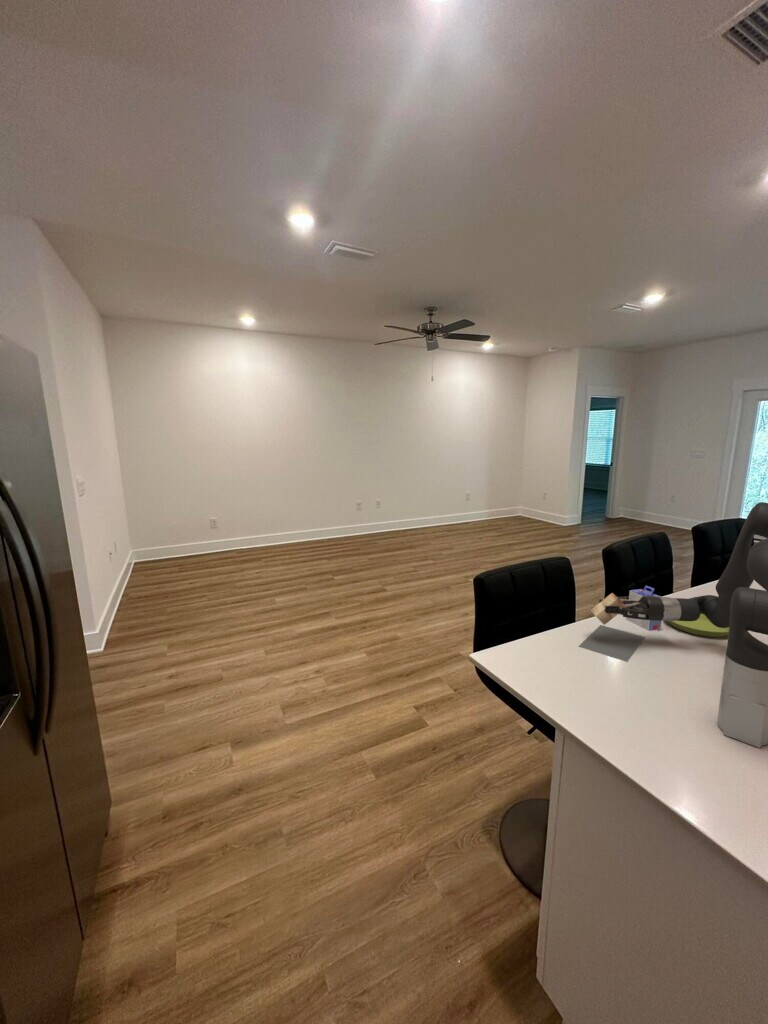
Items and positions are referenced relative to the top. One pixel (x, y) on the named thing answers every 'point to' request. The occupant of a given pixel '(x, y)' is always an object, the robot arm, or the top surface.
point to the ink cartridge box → (644, 624)
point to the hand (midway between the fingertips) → (602, 606)
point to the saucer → (700, 627)
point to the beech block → (600, 608)
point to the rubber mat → (612, 642)
